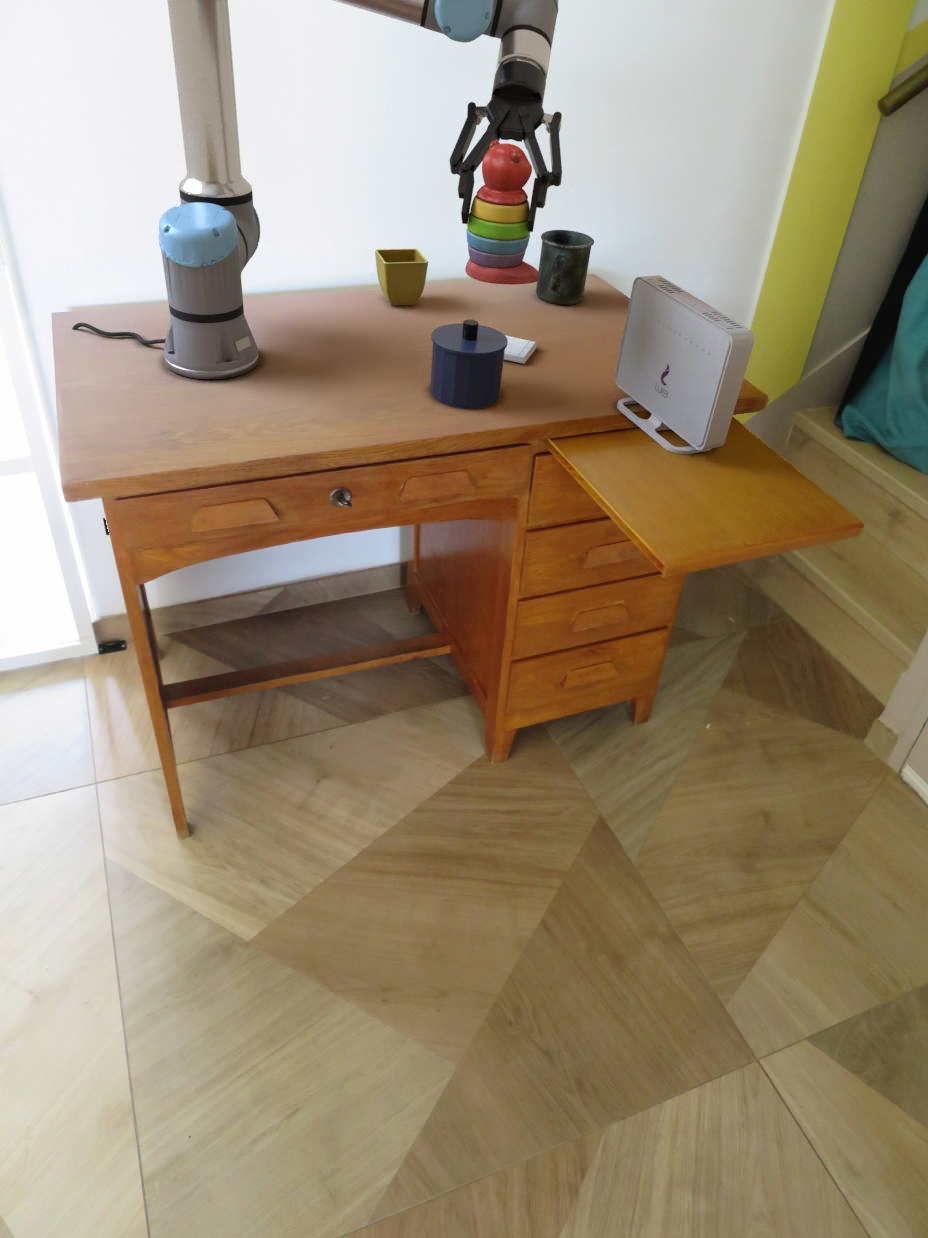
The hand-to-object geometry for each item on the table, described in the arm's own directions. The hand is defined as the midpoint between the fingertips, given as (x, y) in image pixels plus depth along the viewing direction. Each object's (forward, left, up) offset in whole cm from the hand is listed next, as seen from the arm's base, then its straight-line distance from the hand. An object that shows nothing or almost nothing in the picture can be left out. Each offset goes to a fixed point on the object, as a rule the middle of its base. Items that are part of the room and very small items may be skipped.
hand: (497, 222), depth 125 cm
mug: (+9, +54, -28) cm, 62 cm away
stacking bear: (0, +3, -8) cm, 9 cm away
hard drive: (0, +23, -28) cm, 36 cm away
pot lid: (-3, +3, -19) cm, 19 cm away
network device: (+30, +2, -28) cm, 41 cm away
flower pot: (-22, +41, -28) cm, 54 cm away
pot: (-3, +3, -28) cm, 28 cm away
